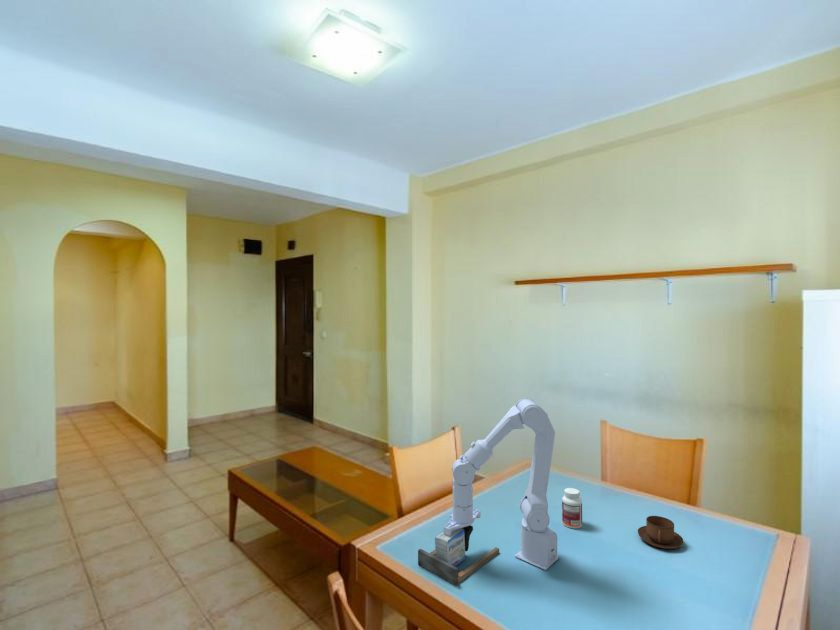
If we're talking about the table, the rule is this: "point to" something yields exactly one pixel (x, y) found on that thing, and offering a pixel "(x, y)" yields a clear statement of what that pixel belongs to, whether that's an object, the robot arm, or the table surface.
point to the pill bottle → (572, 508)
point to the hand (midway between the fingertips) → (462, 550)
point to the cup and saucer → (660, 533)
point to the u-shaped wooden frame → (448, 570)
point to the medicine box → (451, 547)
